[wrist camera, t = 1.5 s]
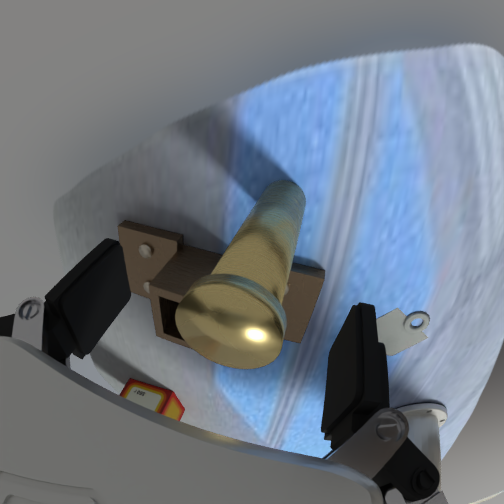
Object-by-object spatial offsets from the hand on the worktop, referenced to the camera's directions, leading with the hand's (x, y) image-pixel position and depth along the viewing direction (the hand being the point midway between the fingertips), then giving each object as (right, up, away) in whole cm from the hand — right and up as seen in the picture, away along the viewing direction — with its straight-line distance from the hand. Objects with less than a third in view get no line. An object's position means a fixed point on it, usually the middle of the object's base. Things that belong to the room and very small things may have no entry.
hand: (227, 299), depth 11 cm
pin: (+3, +5, +10) cm, 12 cm away
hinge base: (-3, -1, +15) cm, 16 cm away
